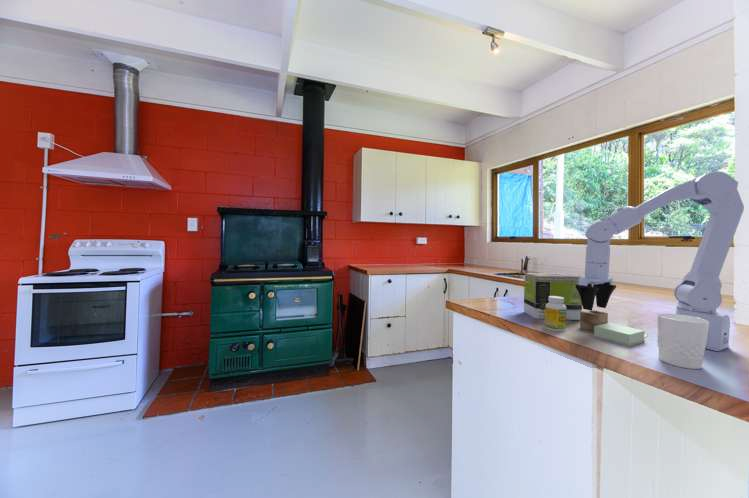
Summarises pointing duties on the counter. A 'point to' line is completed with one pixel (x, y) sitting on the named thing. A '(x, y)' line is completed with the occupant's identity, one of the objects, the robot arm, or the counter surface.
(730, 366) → the counter surface
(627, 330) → the base brick
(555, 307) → the supplement bottle
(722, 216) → the robot arm
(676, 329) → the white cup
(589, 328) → the walnut brick
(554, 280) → the tea box
